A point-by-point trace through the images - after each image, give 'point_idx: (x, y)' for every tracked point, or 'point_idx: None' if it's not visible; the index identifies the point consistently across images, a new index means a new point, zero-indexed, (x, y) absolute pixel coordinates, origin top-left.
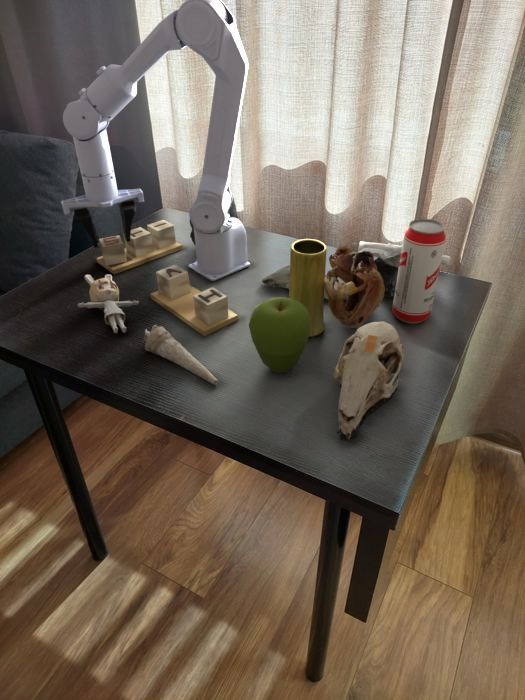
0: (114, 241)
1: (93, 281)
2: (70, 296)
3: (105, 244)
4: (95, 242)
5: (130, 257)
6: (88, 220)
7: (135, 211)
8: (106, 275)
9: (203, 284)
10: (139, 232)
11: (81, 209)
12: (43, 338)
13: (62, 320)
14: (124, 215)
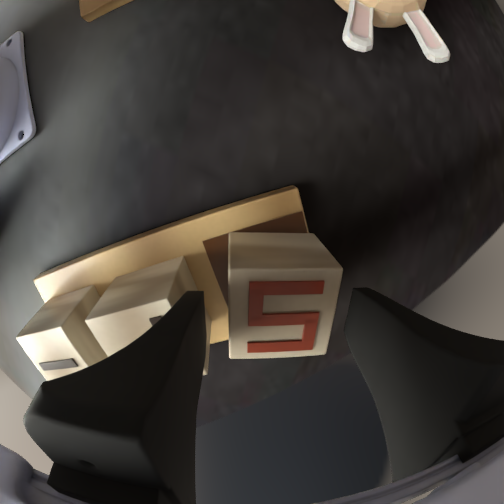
0: (268, 306)
1: (416, 27)
2: (439, 120)
3: (322, 286)
4: (374, 295)
5: (206, 265)
6: (484, 355)
7: (41, 385)
8: (366, 41)
9: (45, 22)
10: None
11: (496, 439)
12: (477, 4)
13: (456, 27)
14: (159, 392)
